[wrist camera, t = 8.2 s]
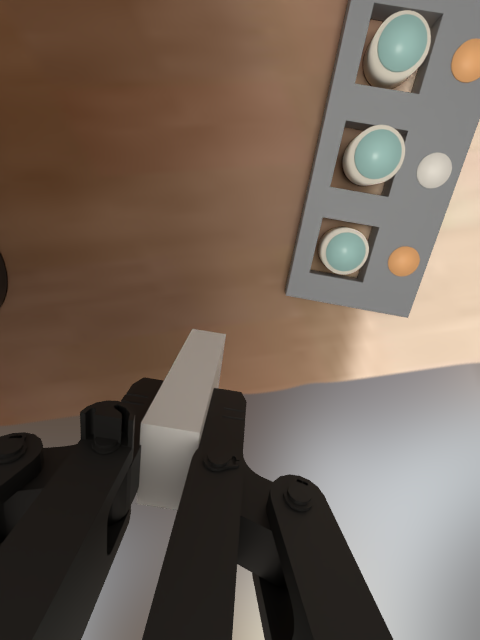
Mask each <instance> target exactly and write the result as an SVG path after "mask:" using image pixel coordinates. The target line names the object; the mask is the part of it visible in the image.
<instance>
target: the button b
mask: <svg viewBox="0 0 480 640" xmlns="http://www.w3.org/2000/svg"><path fill="white" fill-rule="evenodd" d="M404 157H405V144H404V140H403V138H402V136H401V135H400V133H399V132H398V131H397V130H396V129H394V128H393V127H390V126H387V125H376V126H372V127H370V128H368V129H366V130H365V131H363V132H362V133H361V134H360V135H358V136H357V137H356V138H355V139H353V140H352V141H351V142H350V144H349V145H348V146H347V148H346V150H345V152H344V155H343V162H342V163H343V170H344V173H345V175H346V177H347V178H348V179H349V180H350V181H351V182H352V183H354V184H356V185H359V186H369V185H374V184H378V183H382V182H385V181H387V180H388V179H390V178H391V177H393V176H394V175H395V174H396V173H397V171H398V170H399V169H400V167H401V165H402V163H403V160H404Z"/></svg>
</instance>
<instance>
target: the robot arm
mask: <svg viewBox="0 0 480 640" xmlns="http://www.w3.org/2000/svg"><path fill="white" fill-rule="evenodd" d="M6 289H7V276H6V270H5V266H4V263H3V260H2V257H1V255H0V306H1V305H2V303H3V301H4V298H5V295H6ZM225 338H226V334H221V333H215V332H209V331H203V330H196V329H192V330H191V332H190V334H189V336H188V338H187V340H186V341H185V343H184V345H183V347H182V349H181V351H180V352H179V354H178V356H177V358H176V360H175V362H174V363H173V365H172V367H171V369H170V371H169V373H168V374H167V376H166V378H165V380H164V381H162V380H156V379H150V378H142V379H141V380H139V381H137V382H136V383H134V384H133V385H132V386H131V387H130V389H129V390H128V392H127V394H126V395H125V396H124V397H123V399H122V400H121V402H119V401H103V402H97V403H94V404H92V405H90V406H87V407H86V408H85V409H84V410H82V411H81V412H80V423H81V440H80V441H79V442H78V444H76V445H71V446H65V447H53V448H43V445H42V441H41V439H40V438H38V437H37V436H36V435H34V434H30V433H12V434H8V435H4V436H1V437H0V640H81V638H82V636H83V634H84V631H85V629H86V626H87V624H88V621H89V619H90V616H91V614H92V612H93V609H94V607H95V604H96V602H97V599H98V597H99V594H100V592H101V590H102V587H103V585H104V582H105V580H106V577H107V575H108V573H109V570H110V567H111V565H112V563H113V560H114V558H115V555H116V553H117V551H118V548H119V546H120V543H121V541H122V538H123V536H124V533H125V531H126V529H127V526H128V524H129V520H130V514H131V504H132V502H133V499H134V497H135V495H136V493H137V504H143V505H148V506H154V507H161V508H166V509H173V510H177V514H176V518H175V521H174V525H173V529H172V532H171V536H170V540H169V544H168V547H167V551H166V555H165V558H164V562H163V565H162V569H161V572H160V576H159V580H158V584H157V587H156V591H155V594H154V598H153V602H152V605H151V609H150V613H149V616H148V620H147V624H146V627H145V631H144V635H143V638H142V640H232V630H233V616H234V601H235V586H236V572H237V564H239V565H240V566H242V567H244V568H245V569H247V570H249V571H251V572H252V575H253V581H254V586H255V591H256V596H257V602H258V606H259V612H260V617H261V622H262V627H263V632H264V638H265V640H393V638H392V636H391V634H390V632H389V630H388V628H387V626H386V624H385V622H384V619H383V618H382V615H381V613H380V611H379V609H378V607H377V605H376V603H375V601H374V598H373V596H372V594H371V592H370V590H369V588H368V586H367V584H366V582H365V580H364V578H363V575H362V574H361V571H360V569H359V567H358V565H357V563H356V561H355V559H354V557H353V555H352V553H351V551H350V549H349V546H348V545H347V542H346V540H345V538H344V536H343V534H342V532H341V530H340V528H339V526H338V524H337V522H336V519H335V517H334V515H333V513H332V511H331V509H330V507H329V505H328V503H327V501H326V498H325V496H324V495H323V493H322V492H321V491H320V489H319V488H318V487H317V486H316V485H315V484H313V483H312V482H311V481H310V480H307V479H305V478H303V477H301V476H295V475H285V476H280V477H279V478H278V479H276V480H275V481H274V482H272V481H269V480H267V479H265V478H263V477H261V476H259V475H258V474H256V473H255V472H253V471H252V470H251V469H250V468H249V467H248V465H247V464H246V462H245V460H244V458H243V442H244V427H245V412H246V400H245V398H244V396H243V395H242V393H241V392H237V391H230V390H224V389H218V386H219V379H220V372H221V365H222V358H223V351H224V344H225Z"/></svg>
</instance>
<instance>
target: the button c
mask: <svg viewBox="0 0 480 640" xmlns="http://www.w3.org/2000/svg"><path fill="white" fill-rule="evenodd" d="M430 42H431V34H430V28H429V26H428V23H427V21H426V20H425V19H424V17H423V16H422V15H420V14H419V13H417V12H415V11H411V10H404V11H399V12H397V13H394V14H393V15H391V16H390V17H388V18H387V19H386V20H385V21H384V22H383V23H382V25H381V26H380V28H379V29H378V31H377V32H376V34H375V36H374V37H373V39H372V41H371V42H370V44H369V46H368V47H367V49H366V52H365V55H364V59H363V71H364V75H365V77H366V79H367V81H368V82H369V83H370V84H371V85H372V86H373V87H378V88H384V89H392V88H395V87H397V86H399V85H400V84H401V83H403V82H404V81H405V80H406V79H407V78H408V77H409V76H410V75H411V74H412V73H413V72H414V71H415V70H416V69H417V68H418V67H419V66H420V65H421V64H422V63H423V61H424V60H425V58H426V56H427V54H428V51H429V47H430Z"/></svg>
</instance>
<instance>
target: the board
mask: <svg viewBox="0 0 480 640" xmlns="http://www.w3.org/2000/svg"><path fill="white" fill-rule="evenodd" d="M404 10H411V11H415V12H417V13H419V14H420V15H422V16H423V17H424V19H425V20H426V21H427V23H428V26H429V28H430V34H431V42H430V47H429V51H428V54H427V56H426V58H425V60H424V61H423V63H422V64H421V65H420V66H419V68H418V72H417V75H416V78H415V82H414V85H413V89H412V92H411V93H409V92H403V91H397V90H390V89H384V88H378V87H372V86H366V85H360V84H355V81H356V76H357V72H358V68H359V64H360V60H361V55H362V51H363V47H364V43H365V39H366V35H367V30H368V26H369V22H370V19H373V20H380V21H385V20H386V19H387V18H388V17H390V16H391V15H393V14H394V13H397V12H399V11H404ZM479 119H480V0H348V4H347V8H346V13H345V18H344V22H343V27H342V31H341V36H340V41H339V45H338V50H337V54H336V59H335V64H334V68H333V73H332V77H331V82H330V86H329V91H328V96H327V100H326V105H325V109H324V114H323V119H322V123H321V128H320V132H319V137H318V141H317V146H316V151H315V155H314V160H313V164H312V169H311V174H310V178H309V183H308V187H307V192H306V197H305V201H304V206H303V210H302V215H301V219H300V224H299V229H298V233H297V238H296V242H295V247H294V252H293V256H292V261H291V265H290V270H289V274H288V279H287V284H286V288H285V293H286V296H292V297H297V298H303V299H308V300H314V301H319V302H325V303H330V304H336V305H341V306H347V307H352V308H358V309H363V310H368V311H374V312H379V313H385V314H390V315H396V316H401V317H407V318H408V316H409V313H410V310H411V308H412V305H413V302H414V299H415V297H416V294H417V291H418V288H419V286H420V283H421V280H422V277H423V274H424V272H425V269H426V266H427V263H428V261H429V258H430V255H431V252H432V249H433V247H434V244H435V241H436V238H437V236H438V233H439V230H440V227H441V224H442V222H443V219H444V216H445V213H446V211H447V208H448V205H449V202H450V199H451V197H452V194H453V191H454V188H455V186H456V183H457V180H458V177H459V174H460V172H461V169H462V166H463V163H464V161H465V158H466V155H467V152H468V149H469V147H470V144H471V141H472V138H473V136H474V133H475V130H476V127H477V124H478V122H479ZM376 125H387V126H390V127H393V128H394V129H396V130H397V131H398V132H399V133H400V135H401V136H402V138H403V140H404V144H405V157H404V160H403V163H402V165H401V167H400V169H399V170H398V171H397V173H396V174H395V175H394V176H393V177H391V178H390V179H388V180H387V181H385V185H384V188H383V192H382V195H381V196H380V195H374V194H368V193H363V192H357V191H351V190H345V189H339V188H334V187H330V185H331V181H332V176H333V172H334V168H335V164H336V160H337V156H338V151H339V147H340V143H341V139H342V135H343V131H344V127H347V128H353V129H359V130H366V129H368V128H370V127H372V126H376ZM323 217H324V218H330V219H336V220H341V221H347V222H353V223H358V224H364V225H370V226H372V229H371V233H370V236H369V240H368V246H369V253H368V257H367V260H366V261H365V263H364V264H363V266H362V267H361V268H360V270H359V274H358V277H357V278H354V277H349V276H343V275H338V274H332V273H327V272H321V271H315V270H310V268H311V264H312V260H313V256H314V252H315V247H316V243H317V239H318V235H319V231H320V227H321V222H322V218H323Z"/></svg>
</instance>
